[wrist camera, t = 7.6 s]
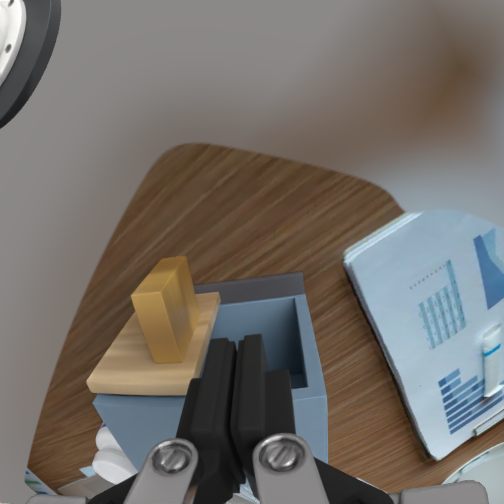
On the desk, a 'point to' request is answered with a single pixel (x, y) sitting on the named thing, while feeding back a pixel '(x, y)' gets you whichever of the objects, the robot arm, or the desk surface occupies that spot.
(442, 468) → the desk surface
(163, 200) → the desk surface
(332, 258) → the desk surface
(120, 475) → the pill bottle
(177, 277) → the tan piece
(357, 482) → the robot arm
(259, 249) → the desk surface
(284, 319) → the grey-blue hollow box
